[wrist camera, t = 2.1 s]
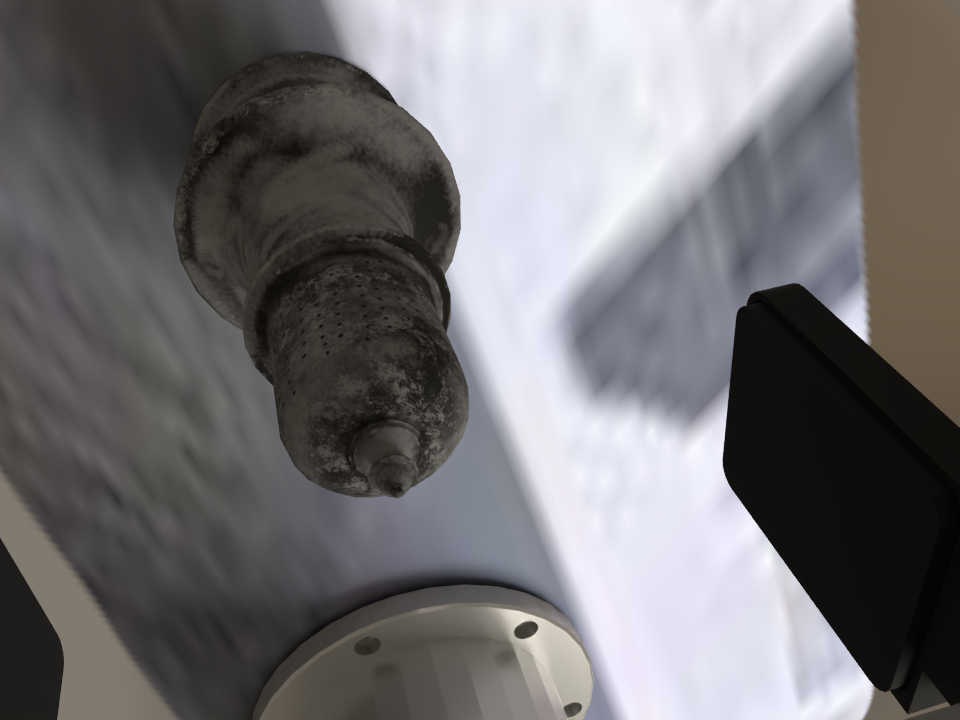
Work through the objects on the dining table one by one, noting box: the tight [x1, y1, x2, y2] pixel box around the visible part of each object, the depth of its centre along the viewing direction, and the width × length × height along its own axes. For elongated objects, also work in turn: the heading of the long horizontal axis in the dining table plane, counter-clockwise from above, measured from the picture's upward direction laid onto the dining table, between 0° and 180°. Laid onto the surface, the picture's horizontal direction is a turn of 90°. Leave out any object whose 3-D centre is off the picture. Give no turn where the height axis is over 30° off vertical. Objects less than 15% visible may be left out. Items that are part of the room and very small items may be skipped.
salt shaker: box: [173, 53, 469, 498], centre depth 17 cm, size 6×6×12 cm
